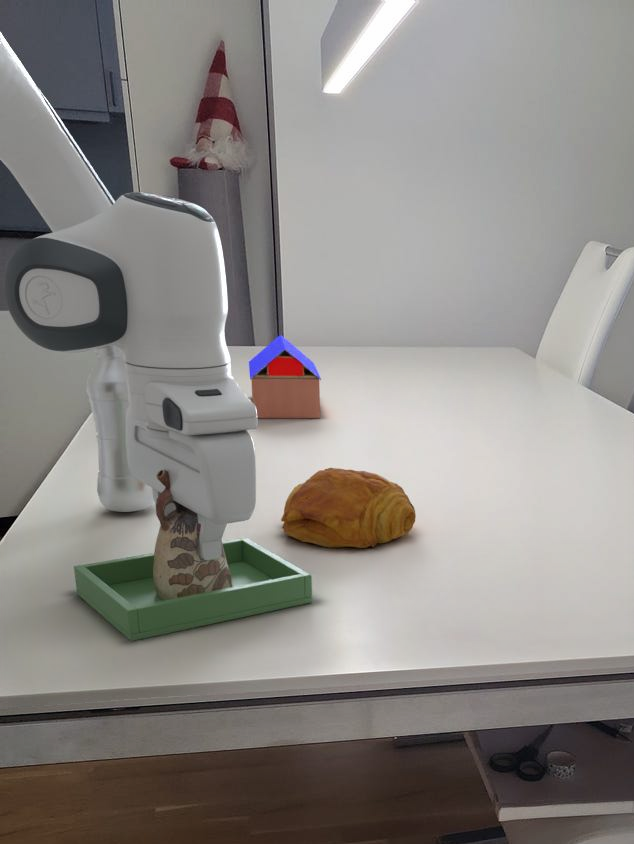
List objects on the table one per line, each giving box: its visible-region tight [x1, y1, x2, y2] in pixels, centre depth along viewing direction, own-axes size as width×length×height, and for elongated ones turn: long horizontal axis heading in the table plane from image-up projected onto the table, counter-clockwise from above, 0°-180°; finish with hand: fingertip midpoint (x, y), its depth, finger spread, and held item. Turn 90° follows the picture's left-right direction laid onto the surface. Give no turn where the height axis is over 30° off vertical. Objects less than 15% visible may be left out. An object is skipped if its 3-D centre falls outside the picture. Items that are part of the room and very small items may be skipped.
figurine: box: [153, 470, 233, 601], centre depth 95 cm, size 7×7×12 cm
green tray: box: [73, 537, 313, 642], centre depth 97 cm, size 18×14×3 cm
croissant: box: [280, 467, 417, 549], centre depth 118 cm, size 14×16×8 cm
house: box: [248, 334, 322, 419], centre depth 186 cm, size 12×20×12 cm, turn 12°
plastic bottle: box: [85, 346, 154, 513], centre depth 120 cm, size 6×7×20 cm
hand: (190, 546), depth 96 cm, fingers closed on figurine, 6 cm apart
